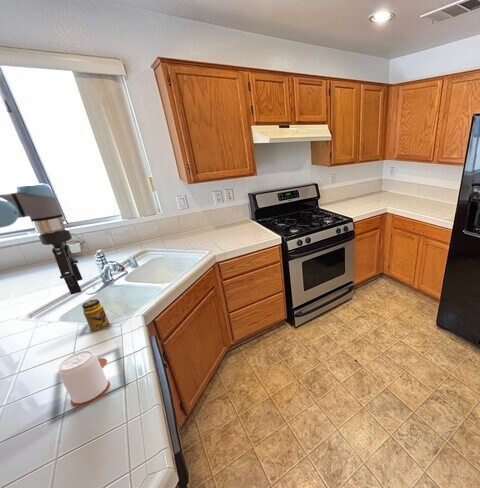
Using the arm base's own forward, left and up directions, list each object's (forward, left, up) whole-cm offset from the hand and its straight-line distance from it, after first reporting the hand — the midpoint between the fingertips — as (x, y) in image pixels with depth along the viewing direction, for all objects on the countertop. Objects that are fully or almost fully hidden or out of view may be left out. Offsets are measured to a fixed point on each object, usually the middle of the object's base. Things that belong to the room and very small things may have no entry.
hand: (77, 286), depth 95 cm
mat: (-3, -28, -22) cm, 35 cm away
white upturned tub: (-3, -34, -22) cm, 40 cm away
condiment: (0, +7, -22) cm, 23 cm away
